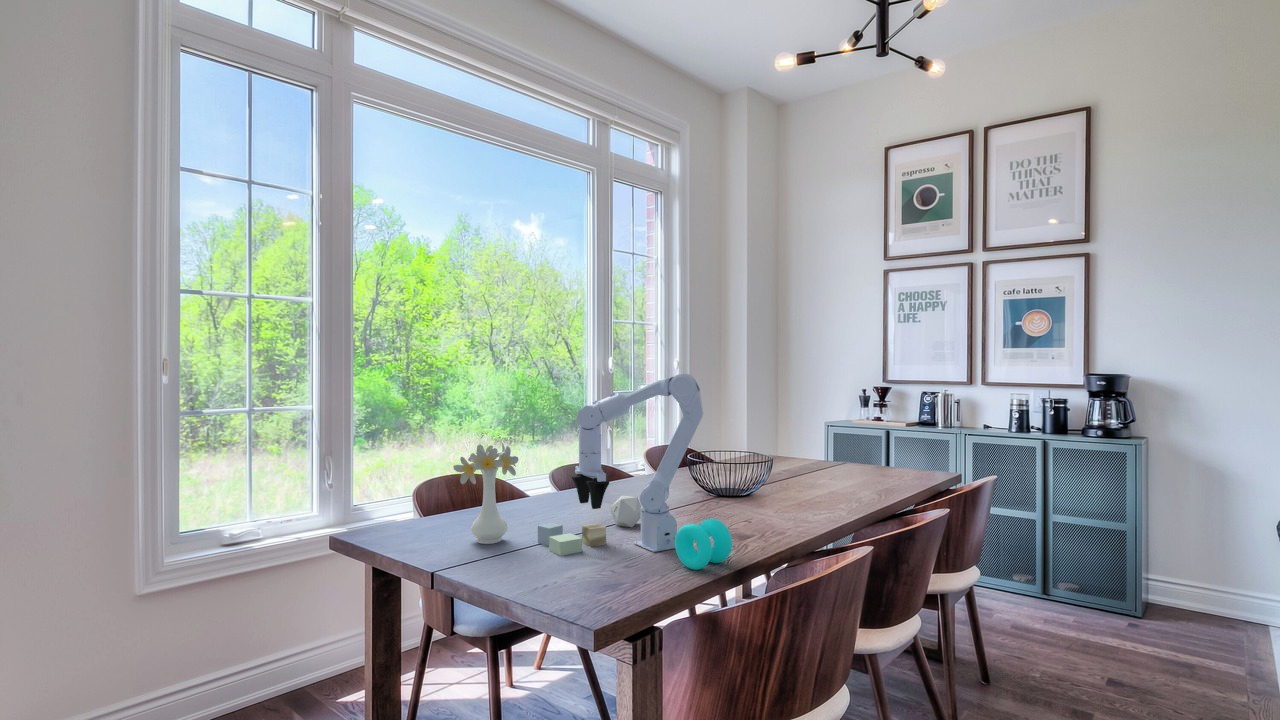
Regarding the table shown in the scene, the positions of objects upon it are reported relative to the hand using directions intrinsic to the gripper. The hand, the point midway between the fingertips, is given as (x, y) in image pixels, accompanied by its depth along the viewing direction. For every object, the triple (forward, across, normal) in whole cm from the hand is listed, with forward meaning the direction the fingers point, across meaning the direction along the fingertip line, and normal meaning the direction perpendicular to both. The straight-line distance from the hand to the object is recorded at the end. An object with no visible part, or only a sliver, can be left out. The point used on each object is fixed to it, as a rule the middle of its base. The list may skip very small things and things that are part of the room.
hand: (590, 505), depth 170 cm
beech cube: (+10, +1, +1) cm, 10 cm away
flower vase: (+10, -14, -22) cm, 28 cm away
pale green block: (+10, +3, -8) cm, 13 cm away
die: (+10, -12, +17) cm, 23 cm away
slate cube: (+10, -6, -9) cm, 14 cm away
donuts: (+10, +30, +14) cm, 35 cm away
